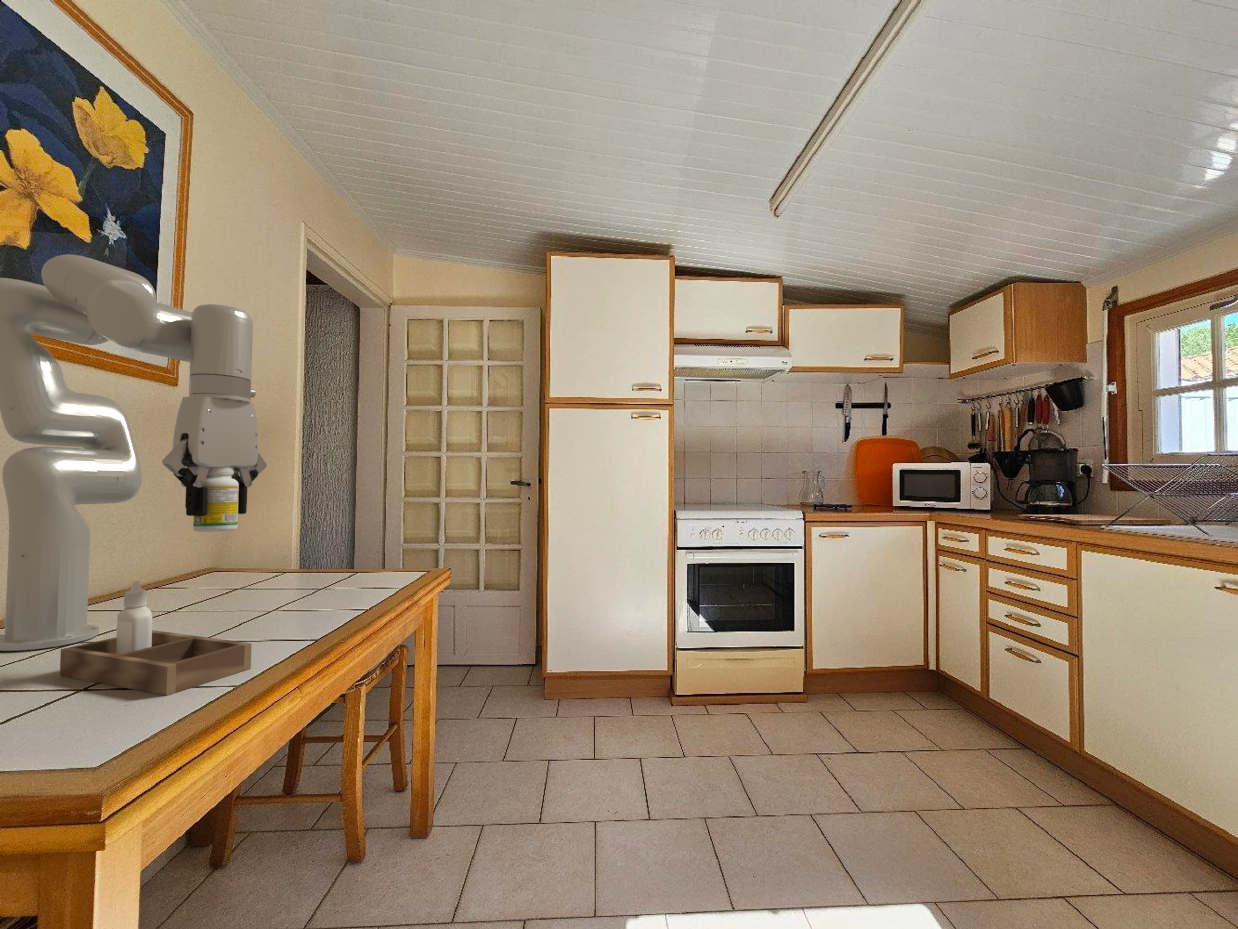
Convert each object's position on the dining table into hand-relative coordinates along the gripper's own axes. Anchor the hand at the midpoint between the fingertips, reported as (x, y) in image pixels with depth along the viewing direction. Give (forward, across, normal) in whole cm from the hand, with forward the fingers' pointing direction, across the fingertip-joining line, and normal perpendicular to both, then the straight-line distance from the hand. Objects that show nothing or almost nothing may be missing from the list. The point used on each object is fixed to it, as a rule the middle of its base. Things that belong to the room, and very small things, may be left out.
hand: (217, 513), depth 84 cm
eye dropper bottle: (+22, +6, -8) cm, 24 cm away
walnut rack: (+21, +6, -3) cm, 22 cm away
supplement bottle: (+3, 0, 0) cm, 3 cm away
